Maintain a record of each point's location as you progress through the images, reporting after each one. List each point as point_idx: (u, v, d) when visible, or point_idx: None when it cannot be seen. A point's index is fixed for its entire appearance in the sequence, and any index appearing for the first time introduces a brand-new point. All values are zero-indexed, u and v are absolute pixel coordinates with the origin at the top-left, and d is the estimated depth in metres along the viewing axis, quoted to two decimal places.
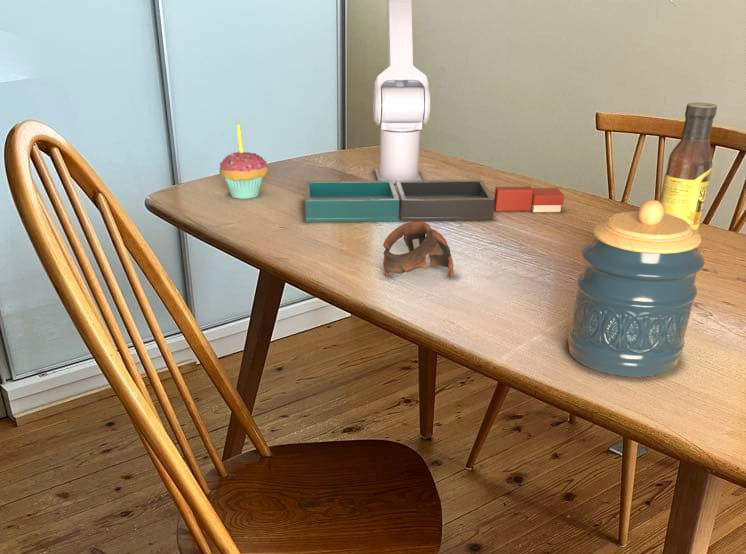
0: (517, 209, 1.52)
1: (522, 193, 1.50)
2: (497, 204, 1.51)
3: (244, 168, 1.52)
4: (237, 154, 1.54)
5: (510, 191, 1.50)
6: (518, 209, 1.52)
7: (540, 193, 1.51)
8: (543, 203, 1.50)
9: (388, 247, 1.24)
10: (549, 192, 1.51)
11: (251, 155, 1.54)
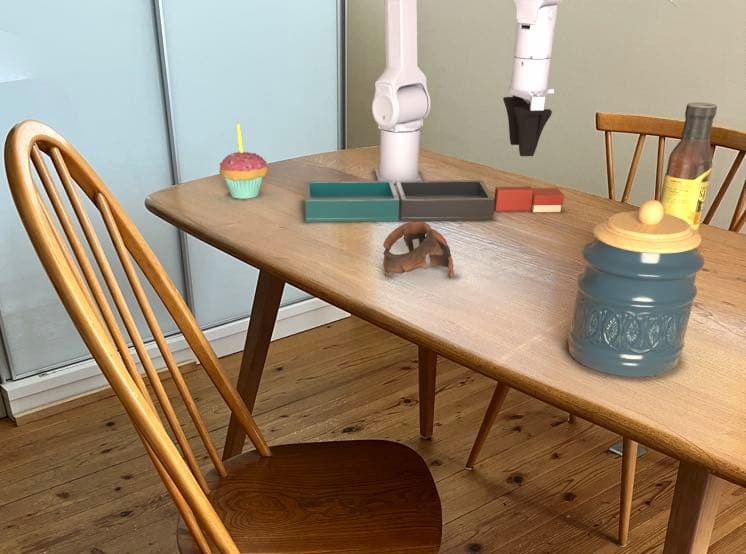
0: (517, 209, 1.52)
1: (522, 193, 1.50)
2: (497, 204, 1.51)
3: (244, 168, 1.52)
4: (237, 154, 1.54)
5: (510, 191, 1.50)
6: (518, 209, 1.52)
7: (540, 193, 1.51)
8: (543, 203, 1.50)
9: (388, 247, 1.24)
10: (549, 192, 1.51)
11: (251, 155, 1.54)
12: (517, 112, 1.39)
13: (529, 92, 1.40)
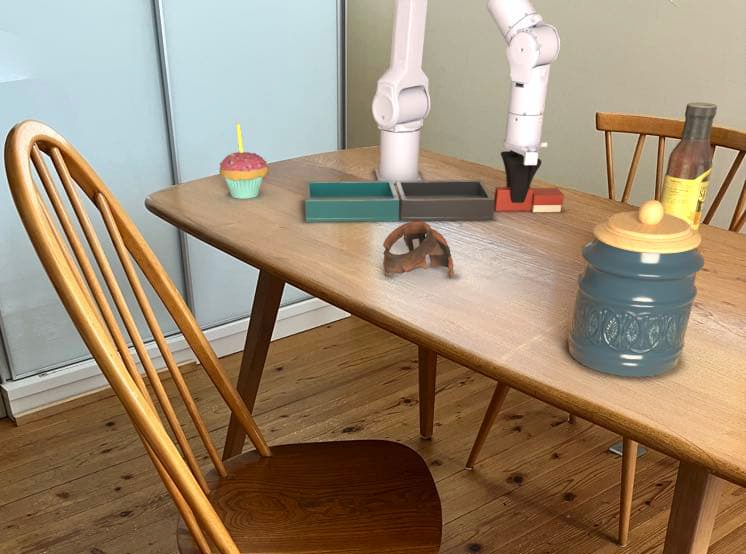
0: (517, 209, 1.52)
1: None
2: (497, 204, 1.51)
3: (244, 168, 1.52)
4: (237, 154, 1.54)
5: None
6: (518, 209, 1.52)
7: (540, 193, 1.51)
8: (543, 203, 1.50)
9: (388, 247, 1.24)
10: (549, 192, 1.51)
11: (251, 155, 1.54)
12: (508, 162, 1.45)
13: (523, 146, 1.44)
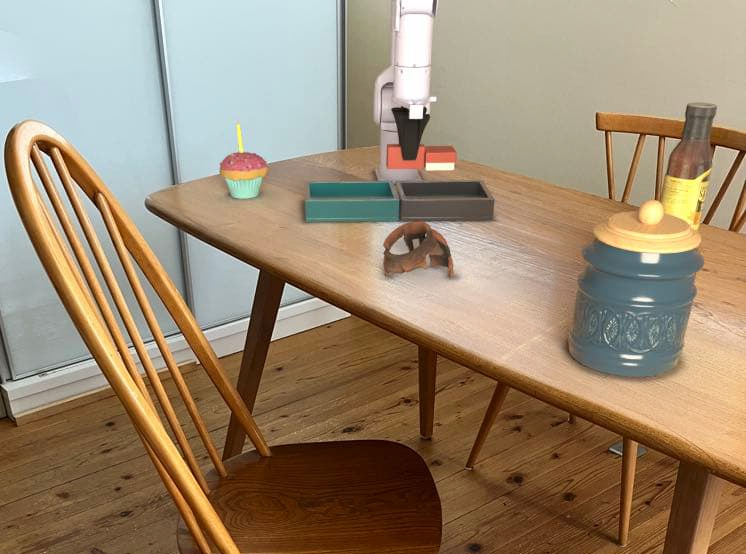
0: (409, 167, 1.47)
1: None
2: (388, 162, 1.46)
3: (244, 168, 1.52)
4: (237, 154, 1.54)
5: None
6: (410, 167, 1.47)
7: (432, 150, 1.46)
8: (435, 160, 1.45)
9: (388, 247, 1.24)
10: (442, 150, 1.46)
11: (251, 155, 1.54)
12: (395, 117, 1.40)
13: (410, 100, 1.39)
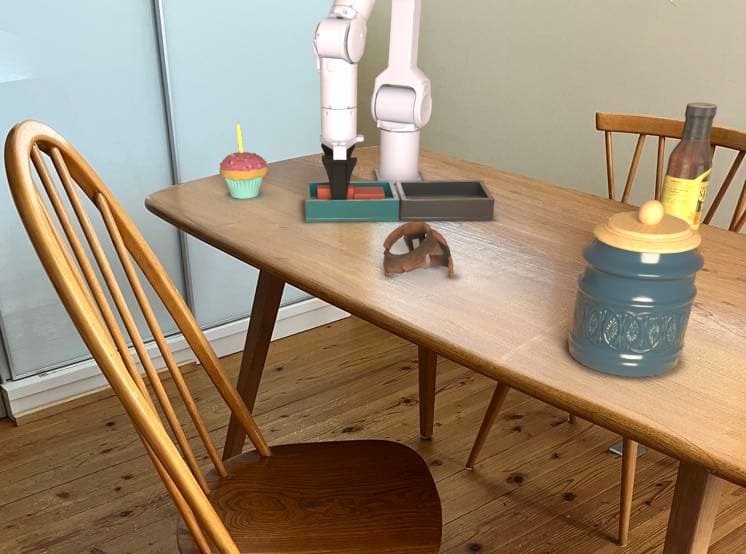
0: None
1: None
2: None
3: (244, 168, 1.52)
4: (237, 154, 1.54)
5: None
6: None
7: (361, 192, 1.49)
8: None
9: (388, 247, 1.24)
10: (371, 191, 1.49)
11: (251, 155, 1.54)
12: (322, 160, 1.41)
13: (336, 141, 1.42)
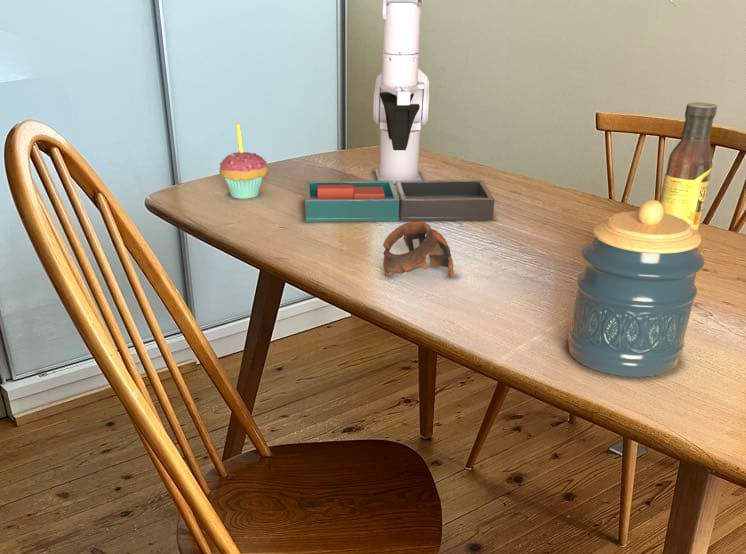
0: None
1: (343, 192, 1.49)
2: None
3: (244, 168, 1.52)
4: (237, 154, 1.54)
5: (330, 190, 1.48)
6: None
7: (361, 192, 1.49)
8: None
9: (388, 247, 1.24)
10: (371, 191, 1.49)
11: (251, 155, 1.54)
12: (385, 107, 1.42)
13: (398, 87, 1.42)
